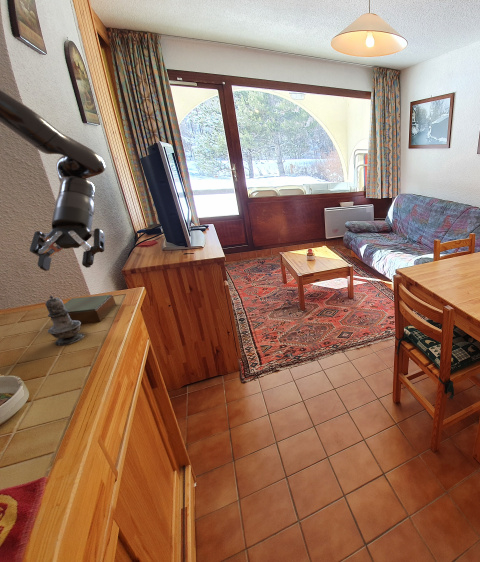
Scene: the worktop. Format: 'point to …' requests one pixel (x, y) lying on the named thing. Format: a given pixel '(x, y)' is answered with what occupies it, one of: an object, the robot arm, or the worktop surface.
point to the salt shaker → (62, 323)
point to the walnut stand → (90, 308)
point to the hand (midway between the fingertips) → (65, 267)
